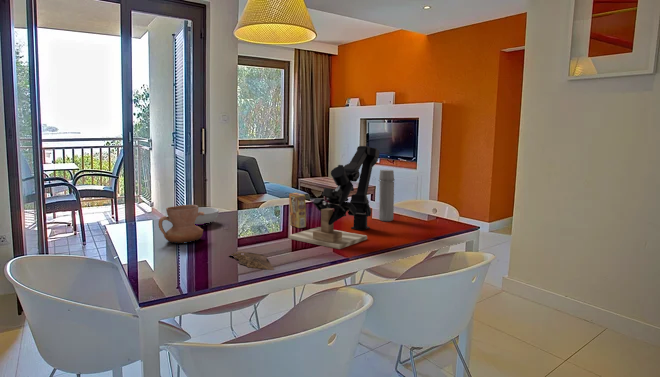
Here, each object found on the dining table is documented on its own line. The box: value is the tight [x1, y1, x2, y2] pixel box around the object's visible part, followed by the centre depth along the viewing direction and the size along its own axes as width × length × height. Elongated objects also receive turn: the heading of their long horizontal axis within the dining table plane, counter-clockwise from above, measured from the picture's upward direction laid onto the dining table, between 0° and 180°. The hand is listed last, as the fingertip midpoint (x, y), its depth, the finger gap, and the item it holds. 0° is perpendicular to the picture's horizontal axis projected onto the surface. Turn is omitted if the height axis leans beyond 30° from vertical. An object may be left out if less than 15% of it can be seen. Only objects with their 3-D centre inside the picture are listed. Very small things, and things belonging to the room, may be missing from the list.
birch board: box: [288, 226, 368, 250], centre depth 176 cm, size 19×26×2 cm
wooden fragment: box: [230, 250, 276, 271], centre depth 147 cm, size 26×11×1 cm, turn 34°
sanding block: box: [313, 208, 342, 242], centre depth 169 cm, size 6×10×12 cm, turn 52°
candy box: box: [288, 192, 307, 229], centre depth 199 cm, size 9×4×15 cm, turn 33°
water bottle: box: [378, 169, 395, 222], centre depth 210 cm, size 9×8×25 cm
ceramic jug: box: [157, 204, 204, 244], centre depth 172 cm, size 18×14×14 cm
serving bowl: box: [194, 206, 220, 224], centre depth 203 cm, size 21×21×7 cm
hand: (325, 223), depth 168 cm, fingers closed on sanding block, 3 cm apart
